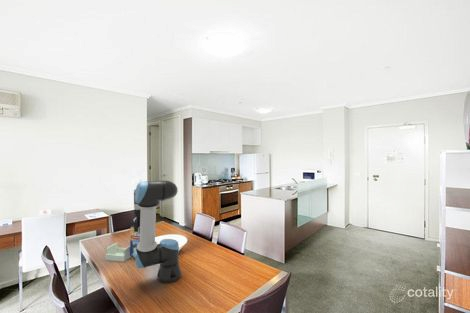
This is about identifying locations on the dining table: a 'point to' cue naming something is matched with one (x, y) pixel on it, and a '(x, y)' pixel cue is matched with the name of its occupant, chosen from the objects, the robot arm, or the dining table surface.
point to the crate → (117, 253)
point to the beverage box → (134, 240)
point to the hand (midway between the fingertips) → (139, 239)
